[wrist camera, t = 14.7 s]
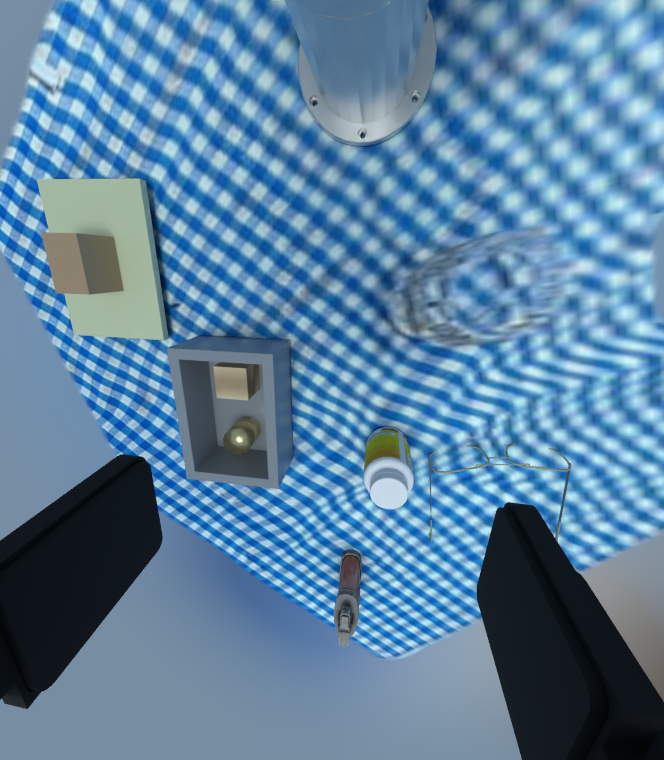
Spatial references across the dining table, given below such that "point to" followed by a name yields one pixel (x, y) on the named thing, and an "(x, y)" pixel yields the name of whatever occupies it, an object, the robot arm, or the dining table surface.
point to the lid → (104, 256)
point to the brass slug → (242, 435)
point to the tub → (233, 409)
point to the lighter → (348, 596)
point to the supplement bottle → (388, 468)
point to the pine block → (236, 380)
